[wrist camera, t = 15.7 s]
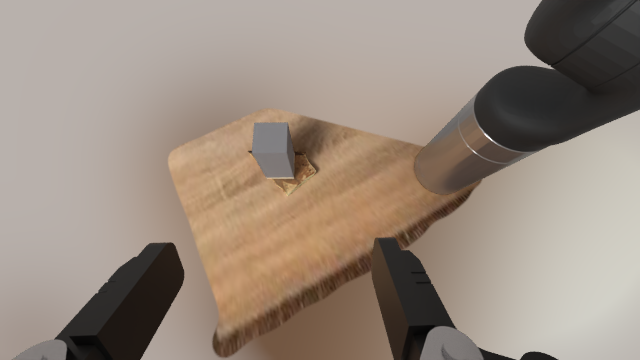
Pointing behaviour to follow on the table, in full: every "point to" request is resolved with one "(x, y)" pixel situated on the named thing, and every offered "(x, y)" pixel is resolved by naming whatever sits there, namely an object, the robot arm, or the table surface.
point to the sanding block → (274, 150)
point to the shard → (296, 174)
